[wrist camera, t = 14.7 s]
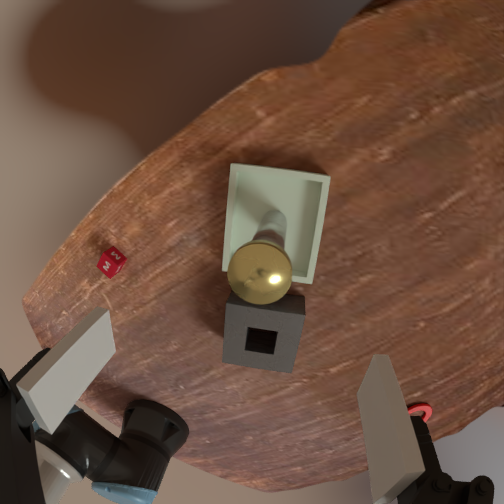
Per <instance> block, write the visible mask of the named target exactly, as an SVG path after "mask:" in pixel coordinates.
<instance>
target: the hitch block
mask: <svg viewBox="0 0 504 504" xmlns="http://www.w3.org/2000/svg"><path fill="white" fill-rule="evenodd" d="M304 319H305V297H304V296H297V295H290V294H285V295H284V296H283V297H282V298H280V299H279V300H277V301H275V302H272V303H269V304H254V303H250V302H247V301H245V300H243V299H242V298H240V297H239V296H238V295H237V294H236V293H235V292H234V291H233V290H232V291H231V293H230V296H229V298H228V300H227V302H226V312H225V326H224V341H223V357H222V362H224V363H229V364H235V365H240V366H246V367H252V368H258V369H265V370H271V371H279V372H286V373H292V369H293V365H294V361H295V357H296V353H297V349H298V345H299V341H300V337H301V333H302V328H303V324H304ZM250 327H252V328H258V329H265V330H271V331H277V333H276V334H272V333H265V332H259V331H253V330H250Z"/></svg>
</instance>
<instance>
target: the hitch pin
mask: <svg viewBox="0 0 504 504" xmlns="http://www.w3.org/2000/svg"><path fill="white" fill-rule="evenodd" d="M286 230H287V219H286V217H285V215H284V214H283V213H282V212H280V211H277V210H271V211H268V212H267V213H265V214H264V216H263V218H262V220H261V222H260V224H259V226H258V228H257V230H256V232H255V235H254V237H253V239H252V241H249V242H247V243H245V244H243V245H242V246H240V247H239V248H238V249H237V250H236V252H235V253H234V255H233V257H232V258H231V260H230V262H229V265H228V270H227V277H228V281H229V284H230V286H231V288H232V290H233V291H234V292H235V293H236V294H237V295H238V296H239V297H240V298H242V299H243V300H245V301H247V302H250V303H254V304H269V303H272V302H275V301H277V300H279V299H280V298H282V297H283V296H284V295H285V294H286V292H287V291H288V289H289V288H290V285H291V281H292V263H291V260H290V258H289V256H288V254H287V253H286V251H285V250H284V248H285V239H286Z"/></svg>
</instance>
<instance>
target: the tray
mask: <svg viewBox="0 0 504 504" xmlns="http://www.w3.org/2000/svg"><path fill="white" fill-rule="evenodd" d="M329 184H330V176H329V175H326V174H320V173H314V172H307V171H300V170H293V169H286V168H278V167H270V166H262V165H253V164H243V163H231V166H230V177H229V188H228V200H227V211H226V224H225V237H224V250H223V264H222V271H226V272H227V270H228V265H229V262H230V260H231V258H232V257H233V255H234V253H235V252H236V250H237V249H238V248H239V247H240V246H242V245H243V244H245V243H247V242H249V241H252V239H253V237H254V235H255V232H256V230H257V228H258V226H259V224H260V222H261V220H262V218H263V216H264V214H265V213H267V212H268V211H271V210H277V211H280V212H282V213H283V214H284V215H285V217H286V219H287V230H286V239H285V248H284V250H285V251H286V253H287V254H288V256H289V258H290V260H291V263H292V281H293V282H300V283H307V284H312V281H313V276H314V271H315V266H316V261H317V255H318V250H319V244H320V239H321V233H322V227H323V222H324V216H325V210H326V203H327V197H328V190H329Z"/></svg>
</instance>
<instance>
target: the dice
mask: <svg viewBox="0 0 504 504" xmlns="http://www.w3.org/2000/svg"><path fill="white" fill-rule="evenodd" d="M126 260H127V258H126V257H125V256H124V255H123V254H122V253H120V252H119V251H118V250H117V249H116V248H115V247H114V246H113V247H111V248H110V249H108V250H107V251H105V252H103V254H102V256H101V258H100V260H99V262H98V264H97V267H98V268H99V269H100V270H101V271H102V272H103V273H104V274H105V275H106V276H107V277H109V278H110V279H111V278H112V277H113V276H114V275H116V274H117V273H118V272H120V270H121V268H122V266H123V265H124V263H125V261H126Z"/></svg>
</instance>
